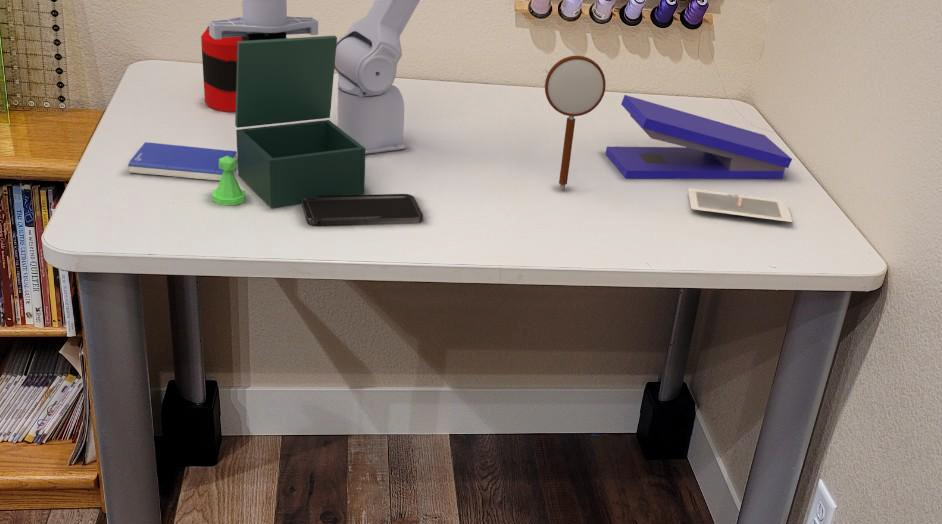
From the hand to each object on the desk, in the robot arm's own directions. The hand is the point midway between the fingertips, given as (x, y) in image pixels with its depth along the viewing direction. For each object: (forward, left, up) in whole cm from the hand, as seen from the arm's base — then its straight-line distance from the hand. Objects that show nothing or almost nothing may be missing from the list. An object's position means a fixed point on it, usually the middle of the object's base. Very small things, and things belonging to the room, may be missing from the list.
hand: (266, 87), depth 146 cm
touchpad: (-56, +41, -10) cm, 70 cm away
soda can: (-3, -22, -10) cm, 24 cm away
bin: (0, +11, -10) cm, 15 cm away
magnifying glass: (-35, +25, -10) cm, 44 cm away
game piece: (+10, +12, -10) cm, 19 cm away
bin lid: (0, +7, +3) cm, 7 cm away
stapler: (-62, +25, -10) cm, 67 cm away
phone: (-4, +22, -11) cm, 25 cm away
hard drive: (+12, 0, -10) cm, 16 cm away
